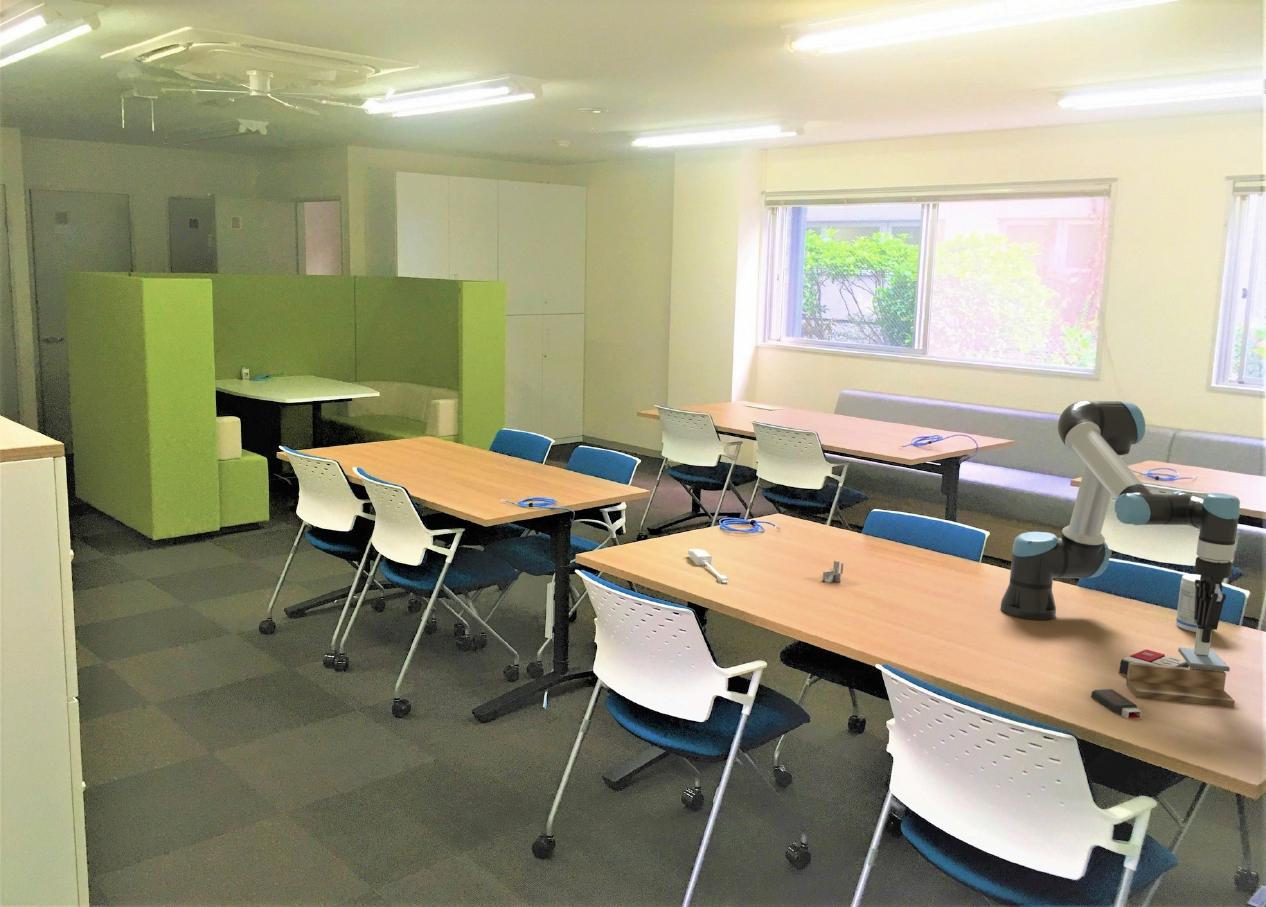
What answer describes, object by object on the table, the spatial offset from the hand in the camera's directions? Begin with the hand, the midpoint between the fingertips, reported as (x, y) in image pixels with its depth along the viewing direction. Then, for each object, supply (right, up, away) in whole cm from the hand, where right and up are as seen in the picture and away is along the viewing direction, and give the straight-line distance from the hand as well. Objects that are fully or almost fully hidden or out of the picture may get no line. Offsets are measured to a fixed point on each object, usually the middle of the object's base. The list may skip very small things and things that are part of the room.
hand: (1201, 653), depth 243 cm
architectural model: (-73, +6, +72) cm, 103 cm away
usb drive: (-27, -10, -15) cm, 33 cm away
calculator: (-7, -7, +8) cm, 13 cm away
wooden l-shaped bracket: (-9, -9, -6) cm, 14 cm away
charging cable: (-113, +10, +86) cm, 142 cm away
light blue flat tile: (0, -2, -1) cm, 2 cm away
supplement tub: (+23, -2, +44) cm, 50 cm away
